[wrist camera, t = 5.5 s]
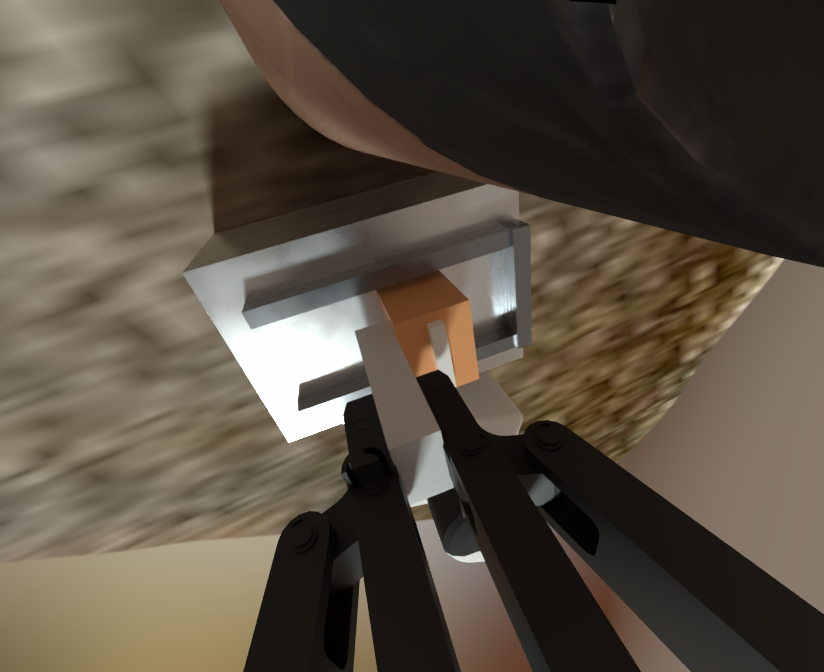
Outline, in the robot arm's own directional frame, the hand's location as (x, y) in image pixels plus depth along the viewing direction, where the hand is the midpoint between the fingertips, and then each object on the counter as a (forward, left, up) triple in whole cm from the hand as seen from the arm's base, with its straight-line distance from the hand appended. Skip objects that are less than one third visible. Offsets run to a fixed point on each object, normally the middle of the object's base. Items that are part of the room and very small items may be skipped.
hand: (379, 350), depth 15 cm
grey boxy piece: (0, +1, -8) cm, 8 cm away
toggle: (0, +2, -2) cm, 3 cm away
